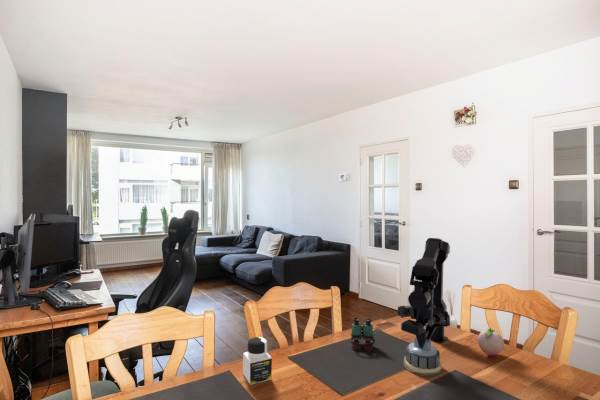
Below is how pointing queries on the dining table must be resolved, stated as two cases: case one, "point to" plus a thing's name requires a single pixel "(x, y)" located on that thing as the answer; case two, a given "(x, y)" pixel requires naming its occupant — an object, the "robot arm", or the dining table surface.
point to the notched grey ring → (422, 364)
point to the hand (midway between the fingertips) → (422, 346)
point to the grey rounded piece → (422, 349)
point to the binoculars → (362, 335)
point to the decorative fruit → (490, 342)
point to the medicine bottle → (257, 361)
